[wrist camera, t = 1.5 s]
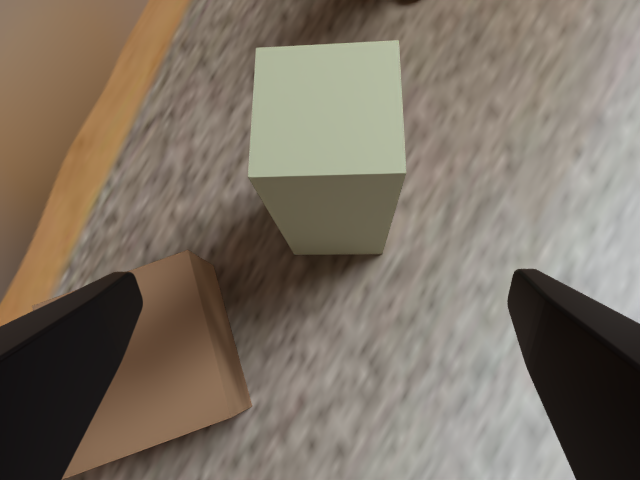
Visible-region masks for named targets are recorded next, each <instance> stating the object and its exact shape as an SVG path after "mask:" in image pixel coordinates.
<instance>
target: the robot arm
mask: <svg viewBox="0 0 640 480" xmlns="http://www.w3.org/2000/svg"><path fill="white" fill-rule="evenodd" d="M142 308H143V298H142V295H141V292H140V289H139V286H138V283H137V280H136V277H135V275H134V274H133V273H131V272H113V273H111V274H109V275H107V276H105V277H103V278H101V279H99V280H97V281H95V282H92V283H90V284H88V285H86V286H84V287H82V288H80V289H78V290H76V291H74V292H72V293H70V294H67V295H65V296H63V297H61V298H59V299H57V300H55V301H53V302H51V303H49V304H47V305H44V306H42V307H40V308H38V309H36V310H34V311H32V312H30V313H28V314H26V315H24V316H22V317H19V318H17V319H15V320H13V321H11V322H9V323H7V324H5V325H3V326H1V327H0V480H62V478H63V476H64V474H65V472H66V470H67V468H68V466H69V464H70V462H71V460H72V458H73V456H74V454H75V453H76V451H77V449H78V447H79V445H80V443H81V441H82V439H83V437H84V435H85V433H86V431H87V429H88V427H89V425H90V423H91V421H92V419H93V417H94V415H95V413H96V411H97V410H98V408H99V406H100V404H101V402H102V400H103V398H104V396H105V394H106V392H107V390H108V388H109V386H110V384H111V382H112V380H113V378H114V376H115V374H116V372H117V370H118V368H119V366H120V364H121V362H122V360H123V357H124V355H125V353H126V350H127V347H128V345H129V342H130V340H131V337H132V334H133V332H134V329H135V326H136V324H137V321H138V319H139V316H140V313H141V311H142ZM508 309H509V313H510V316H511V319H512V322H513V326H514V329H515V332H516V335H517V339H518V342H519V345H520V348H521V352H522V355H523V358H524V361H525V364H526V367H527V369H528V372H529V374H530V377H531V379H532V381H533V383H534V386H535V388H536V390H537V392H538V395H539V397H540V399H541V401H542V404H543V406H544V408H545V410H546V413H547V415H548V417H549V419H550V422H551V424H552V426H553V428H554V431H555V433H556V435H557V438H558V440H559V442H560V444H561V447H562V449H563V451H564V453H565V456H566V458H567V460H568V462H569V465H570V467H571V469H572V471H573V474H574V476H575V478H576V480H640V324H639V323H637V322H635V321H634V320H632V319H630V318H628V317H626V316H624V315H622V314H620V313H618V312H616V311H614V310H613V309H611V308H609V307H607V306H605V305H603V304H601V303H599V302H597V301H595V300H594V299H592V298H590V297H588V296H586V295H584V294H582V293H580V292H578V291H576V290H575V289H573V288H571V287H569V286H567V285H565V284H563V283H561V282H559V281H557V280H555V279H554V278H552V277H550V276H548V275H546V274H544V273H542V272H540V271H538V270H536V269H517V270H516V271H515V272H514V274H513V277H512V282H511V286H510V290H509V295H508Z"/></svg>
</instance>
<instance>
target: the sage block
mask: <svg viewBox="0 0 640 480" xmlns="http://www.w3.org/2000/svg"><path fill="white" fill-rule="evenodd" d="M405 175H406V161H405V143H404V125H403V107H402V89H401V71H400V53H399V40H396V41H377V42H358V43H339V44H320V45H302V46H283V47H264V48H256V59H255V75H254V90H253V106H252V122H251V138H250V154H249V169H248V178H249V180H250V181H251V183H252V185H253V186H254V188H255V190H256V191H257V193H258V195H259V197H260V198H261V200H262V202H263V203H264V205H265V207H266V208H267V210H268V212H269V213H270V215H271V217H272V218H273V220H274V222H275V223H276V225H277V227H278V228H279V230H280V232H281V233H282V235H283V237H284V238H285V240H286V242H287V243H288V245H289V247H290V248H291V250H292V252H293V253H294V255H335V254H382V253H383V250H384V247H385V243H386V240H387V236H388V233H389V230H390V226H391V223H392V219H393V216H394V213H395V209H396V206H397V203H398V199H399V196H400V192H401V189H402V186H403V182H404V179H405Z"/></svg>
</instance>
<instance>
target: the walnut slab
mask: <svg viewBox="0 0 640 480" xmlns="http://www.w3.org/2000/svg"><path fill="white" fill-rule="evenodd" d="M128 272H131V273H133V274H134V275H135V277H136V280H137V283H138V286H139V289H140V292H141V295H142V298H143V308H142V311H141V313H140V316H139V319H138V321H137V324H136V326H135V329H134V332H133V334H132V337H131V340H130V342H129V345H128V347H127V350H126V353H125V355H124V357H123V360H122V362H121V364H120V366H119V368H118V370H117V372H116V374H115V376H114V378H113V380H112V382H111V384H110V386H109V388H108V390H107V392H106V394H105V396H104V398H103V400H102V402H101V404H100V406H99V408H98V410H97V411H96V413H95V415H94V417H93V419H92V421H91V423H90V425H89V427H88V429H87V431H86V433H85V435H84V437H83V439H82V441H81V443H80V445H79V447H78V449H77V451H76V453H75V454H74V456H73V458H72V460H71V462H70V464H69V466H68V468H67V470H66V472H65V474H64V476H63V478H62V480H63V479H65V478H68V477H71V476H74V475H76V474H79V473H82V472H85V471H87V470H90V469H93V468H95V467H98V466H101V465H104V464H106V463H109V462H112V461H114V460H117V459H120V458H123V457H125V456H128V455H131V454H134V453H136V452H139V451H142V450H144V449H147V448H150V447H153V446H155V445H158V444H161V443H163V442H166V441H169V440H172V439H174V438H177V437H180V436H183V435H185V434H188V433H191V432H193V431H196V430H199V429H202V428H204V427H207V426H210V425H212V424H215V423H218V422H221V421H223V420H226V419H229V418H231V417H233V416H235V415H237V414H239V413H241V412H243V411H245V410H246V409H248V408H250V407H252V403H251V400H250V396H249V392H248V389H247V385H246V381H245V378H244V374H243V371H242V367H241V363H240V360H239V356H238V352H237V349H236V345H235V342H234V338H233V334H232V331H231V327H230V324H229V320H228V316H227V313H226V309H225V305H224V302H223V298H222V295H221V291H220V287H219V284H218V280H217V276H216V273H215V269H214V266H213V265H211V264H210V263H208V262H207V261H205V260H203V259H202V258H200V257H198V256H197V255H195V254H194V253H192V252H190V251H189V250H186V251H183V252H180V253H178V254H175V255H172V256H169V257H166V258H164V259H161V260H158V261H155V262H153V263H150V264H147V265H144V266H141V267H139V268H136V269H133V270H130V271H128ZM75 291H76V290H75ZM72 292H74V291H72ZM72 292H69V293H66V294H64V295H61V296H58V297H55V298H53V299H50V300H47V301H44V302H41V303H39V304H36V305H33V306H32V307H33V311H34V310H36V309H38V308H40V307H42V306H44V305H47V304H49V303H51V302H53V301H55V300H57V299H59V298H61V297H63V296H65V295H67V294H70V293H72Z"/></svg>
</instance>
